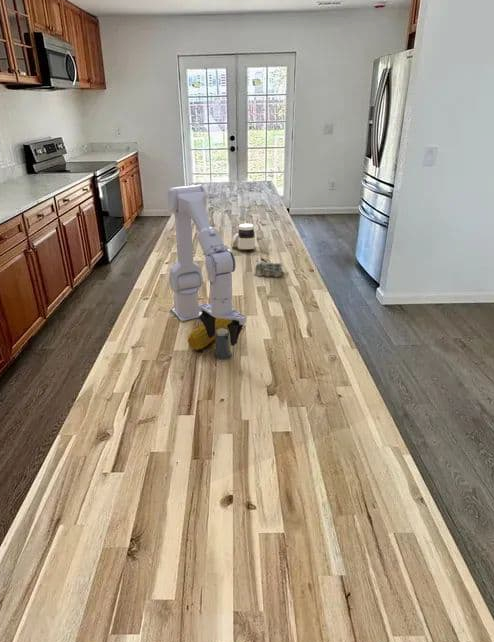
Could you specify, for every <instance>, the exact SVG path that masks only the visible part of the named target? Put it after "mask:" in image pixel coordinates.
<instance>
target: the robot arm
mask: <svg viewBox="0 0 494 642" xmlns="http://www.w3.org/2000/svg"><path fill="white" fill-rule="evenodd" d="M207 198H208V197H207V190H206V188H205V187H204V185H202V184H199V183H198V184H197V185H195V184H194V185H187V186H177V187H170V188H169V190H168V192H167V203H168V204H167V205H168V207H167V208H168V212H169V213H171V214H173V215H174V223H175V224H174V225H175V234H176V235H175V237H176V251H177V261H176V262H175V263H174V264H173V265H171V267H169V276H168V281H169V282H168V283H169V286H170V289H171V290H172V291H173V293H172V294H173V295H172V296H173V307H174V308H172V309H171V311H172V312H173V314H174V315H175V316H176V317H177V318H178V319H179V321H181V322H185V321H189V320H193V319H197V318H198V319H199V320H200V321H201V322H202V325H203V324H204V326H205V328H206V331H207V334H208V337H209V338H211V337H213V336H214V335H215V319H216V318H222V319H229V320H232V322H231V323H230V324H228V325H227V327H228V328H227V330H228V332H229V333H230V346H231V347H234V346H235V345H237V343H238V341H239V336H240V334H241V331H242V329H243V327H244V326H245V324H247V315H245V314H243V313H241V312H239V311H237V310H236V309H234V307H233V280H232V279H233V277H232V274H233V273H234V272H235V270H236V268H237V267H236V266H237V265H236V264H237V263H236V258H235V255H234V252H233V251H232V250H231V249H229V247H228V246H225V244H224V242H223V239H222V238H221V237H222V236H221V235H220V232H219V231H218V229H217V228H215V227H212V224H211V221H210V218H209V215H208V212H207V210H206V207H207V201H208V199H207ZM192 222H193V224H194V226H195V228H196V229H197V231H198V236H197V241H198V244H199V245H200V248H201V250H202V253H203V255H204V257H205V261H204V264H205V269H206V274H207V280H208V281H209V292H210V293H209V294H210V303H205V302H201V303H200V301H199V291H200V290H201V289H200V288H201V287H202V286H203V284H204V277H203V273H202V267H201V266H200V265H199V264H198V263H197V262H195V261H194V248H193V247H194V246H193V229H192V228H193V227H192Z"/></svg>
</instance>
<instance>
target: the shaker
mask: <svg viewBox="0 0 494 642" xmlns="http://www.w3.org/2000/svg"><path fill="white" fill-rule="evenodd" d="M214 342H215V357H216V358H217V359H220V360H225V359H228V358H230V357H231V343H230V333H229V329H228V328H227V329H224V328H221V329H218V330H217V331H216V333H215V339H214Z"/></svg>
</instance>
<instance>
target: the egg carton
mask: <svg viewBox="0 0 494 642" xmlns="http://www.w3.org/2000/svg"><path fill="white" fill-rule="evenodd" d="M282 267H283V263H282V262H280V263H279V262H278V263H273V262H267V263H266V262H263V261H262V262H258V263H257V264H256V265H255V268H254V269H255V276H258V277H263V276H264V277H265V276H266V277H275V278H278V277H282Z"/></svg>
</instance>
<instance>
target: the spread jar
mask: <svg viewBox="0 0 494 642" xmlns="http://www.w3.org/2000/svg"><path fill="white" fill-rule="evenodd" d="M254 228H255V225H254V224H253V223H250V222H249V223H248V222H246V223H241V224H239V225H238V232H236V233H235V234H234V235H233V237H232V238H231V240H230V247H231V248H233V249H234V248H236V247H237V248H238V250H239V251H240V252H242V253H243V252H244V253H249V252H250V253H251V252H253V251H254V250H255V246H256V244H255V243H256V242H255V241H256V232H255V229H254ZM237 245H238V246H237Z"/></svg>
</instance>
